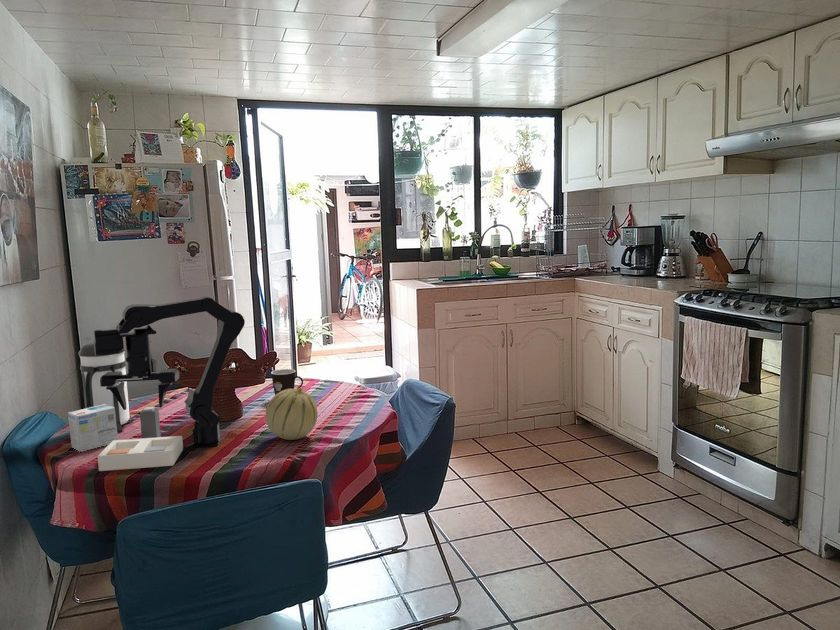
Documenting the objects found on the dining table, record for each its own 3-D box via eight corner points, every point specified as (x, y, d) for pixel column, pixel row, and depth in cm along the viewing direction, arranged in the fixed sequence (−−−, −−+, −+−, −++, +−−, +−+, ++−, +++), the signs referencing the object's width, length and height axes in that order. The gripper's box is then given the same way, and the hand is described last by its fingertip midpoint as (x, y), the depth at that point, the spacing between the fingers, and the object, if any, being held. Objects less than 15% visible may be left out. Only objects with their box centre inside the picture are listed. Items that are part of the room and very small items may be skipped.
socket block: (183, 449, 171) (182, 434, 170) (173, 465, 159) (171, 449, 158) (114, 454, 168) (113, 439, 167) (98, 471, 156) (97, 454, 156)
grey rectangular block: (161, 440, 178) (158, 405, 177) (157, 445, 174) (154, 409, 173) (146, 441, 178) (143, 406, 176) (142, 446, 174) (139, 410, 172)
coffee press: (71, 429, 190) (61, 334, 186) (124, 417, 202) (116, 327, 198) (91, 442, 178) (81, 340, 174) (146, 428, 190) (138, 333, 186)
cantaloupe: (264, 434, 183) (261, 385, 181) (313, 427, 188) (311, 379, 186) (270, 450, 169) (268, 397, 167) (323, 442, 174) (321, 391, 172)
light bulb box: (108, 438, 182) (105, 403, 180) (119, 442, 177) (116, 406, 176) (70, 448, 173) (66, 411, 172) (80, 453, 169) (76, 415, 168)
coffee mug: (268, 399, 221) (266, 371, 220) (288, 394, 227) (287, 368, 226) (284, 405, 213) (283, 377, 211) (305, 400, 218) (304, 373, 217)
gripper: (181, 344, 173) (185, 398, 175) (111, 347, 170) (116, 402, 172) (172, 352, 162) (176, 409, 164) (96, 355, 159) (102, 414, 161)
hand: (143, 408), depth 166 cm, fingers open, 9 cm apart
